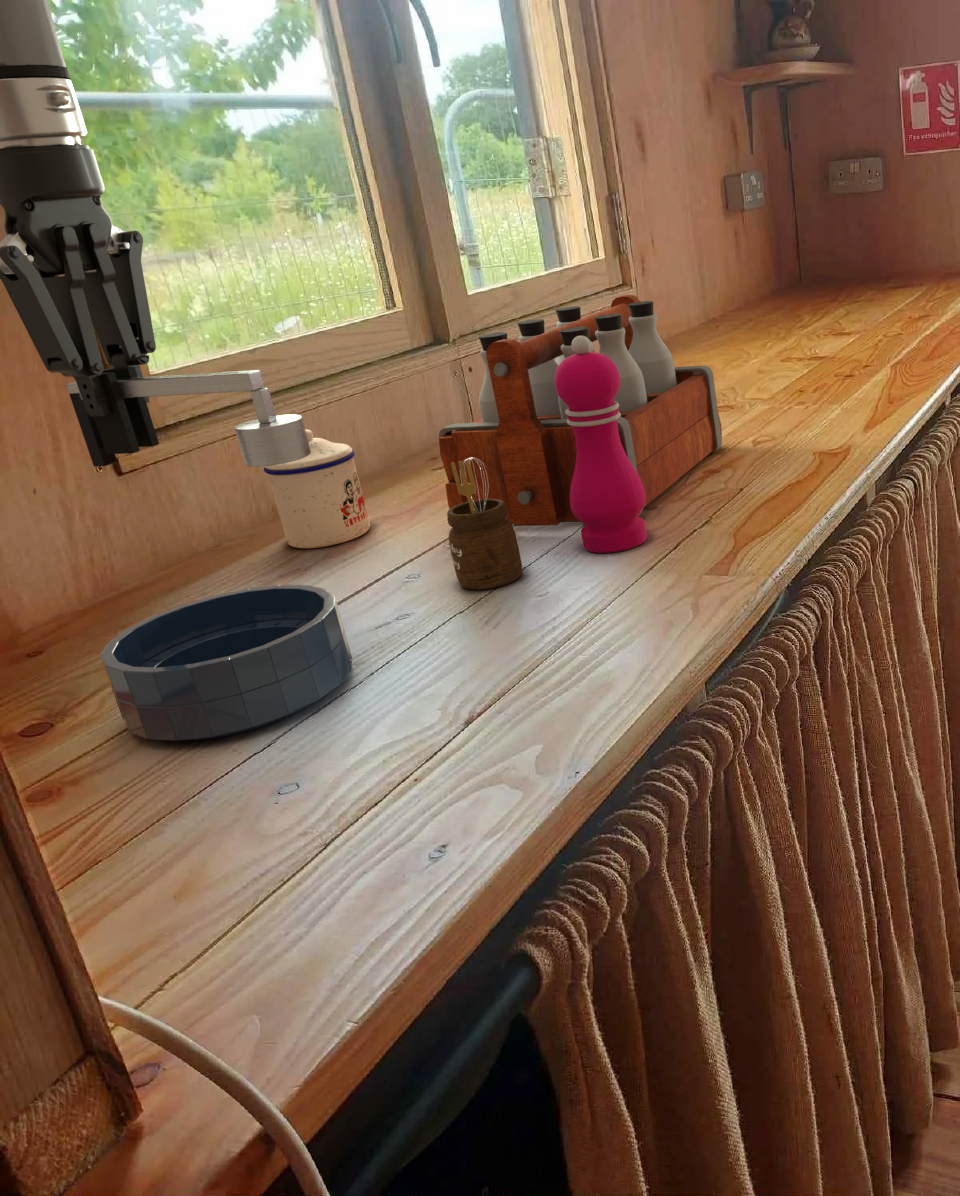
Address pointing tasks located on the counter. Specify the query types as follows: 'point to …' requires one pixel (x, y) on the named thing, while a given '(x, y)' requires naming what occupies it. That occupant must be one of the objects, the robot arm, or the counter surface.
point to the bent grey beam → (257, 438)
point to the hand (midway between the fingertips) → (133, 448)
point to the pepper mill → (599, 453)
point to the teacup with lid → (319, 496)
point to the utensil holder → (481, 538)
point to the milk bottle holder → (539, 423)
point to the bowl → (228, 662)
